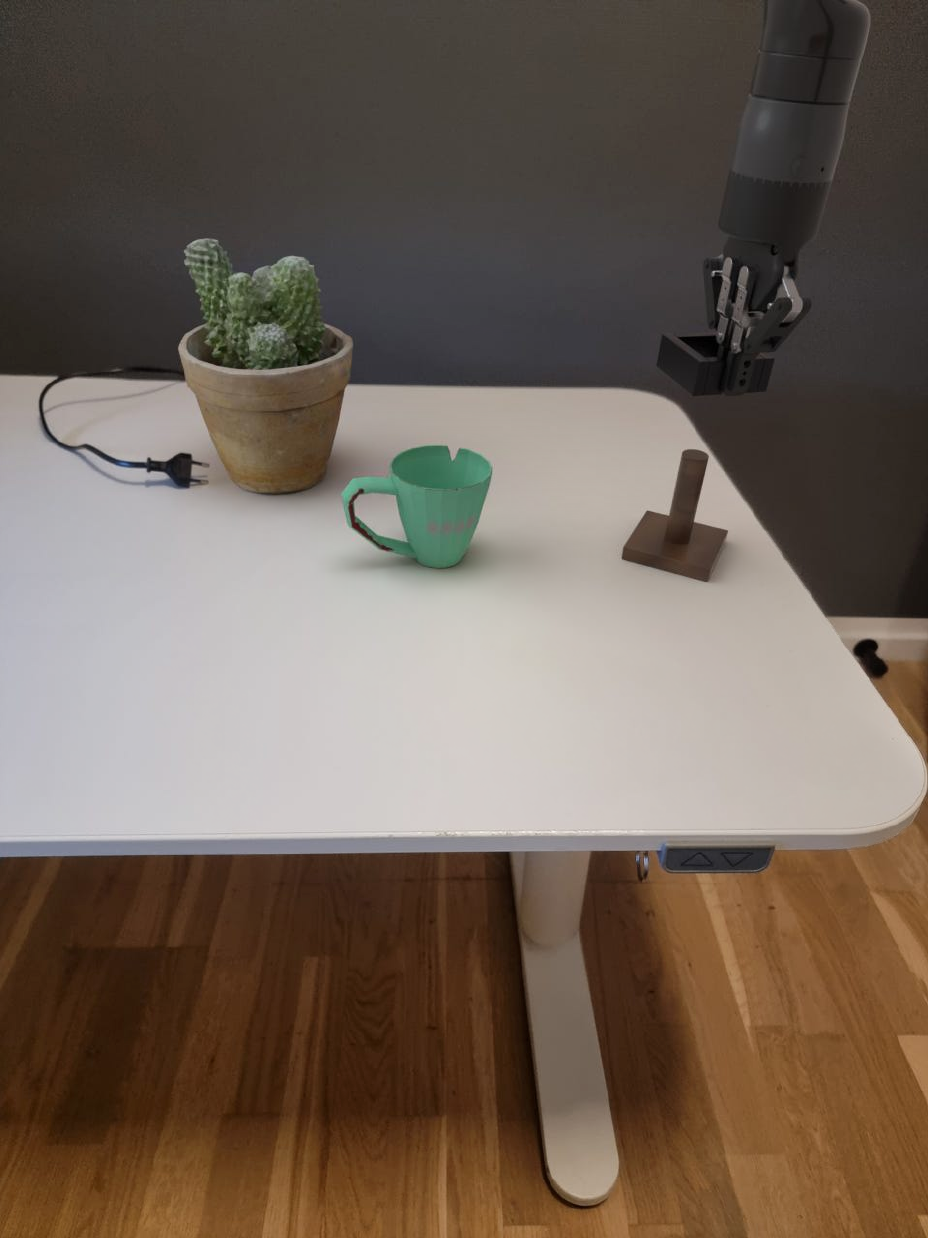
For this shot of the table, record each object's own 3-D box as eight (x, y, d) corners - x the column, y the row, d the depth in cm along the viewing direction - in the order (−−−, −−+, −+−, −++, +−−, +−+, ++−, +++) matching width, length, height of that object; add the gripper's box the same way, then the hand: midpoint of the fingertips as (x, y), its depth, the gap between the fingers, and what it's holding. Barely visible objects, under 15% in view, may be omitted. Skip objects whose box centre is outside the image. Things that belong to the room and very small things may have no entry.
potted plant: (361, 442, 110) (356, 231, 95) (350, 513, 95) (342, 275, 80) (215, 438, 109) (187, 224, 94) (180, 508, 94) (141, 267, 79)
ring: (766, 391, 75) (775, 358, 74) (692, 396, 74) (699, 362, 72) (725, 362, 81) (733, 330, 79) (655, 366, 79) (661, 333, 77)
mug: (467, 526, 93) (471, 440, 88) (500, 573, 86) (508, 482, 80) (333, 544, 89) (329, 455, 83) (357, 596, 82) (353, 502, 76)
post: (725, 542, 93) (749, 447, 87) (707, 582, 87) (732, 483, 80) (644, 521, 96) (662, 428, 90) (621, 558, 89) (638, 461, 83)
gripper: (881, 186, 60) (809, 419, 71) (776, 153, 71) (727, 361, 81) (787, 186, 59) (727, 425, 69) (694, 152, 69) (654, 364, 79)
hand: (727, 390), depth 75 cm, fingers closed on ring, 1 cm apart
